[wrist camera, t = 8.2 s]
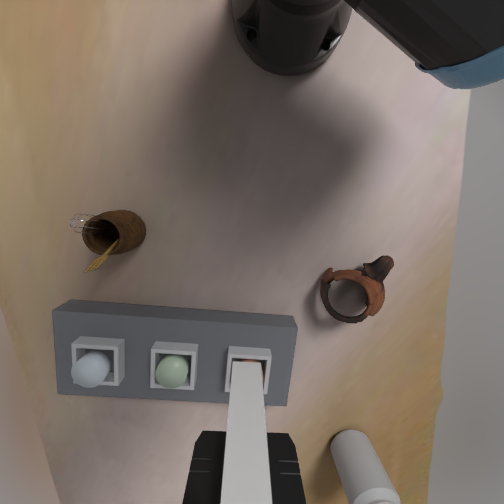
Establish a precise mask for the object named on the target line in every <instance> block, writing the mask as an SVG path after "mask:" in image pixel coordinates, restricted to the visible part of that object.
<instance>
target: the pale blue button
mask: <svg viewBox="0 0 504 504" xmlns="http://www.w3.org/2000/svg"><path fill="white" fill-rule="evenodd" d="M111 368H112V363H111V360H110V358H109V357H108V356H107V355H106V354H104V353H102V352H100V351H90V352H87V353H86V354H84V355H83V356H82V357H81V358H80V359H79V360H78V361H77V362H76V363H75V364H74V365H73V367H72V369H71V376H72V378H73V380H74V381H75V382H76V383H77V384H78V385H80V386H82V387H85V388H93V387H96V386H98V385H100V384H101V383H102V381H103V380H104V379H105V378H106V376H107V375H108V374H109V372H110V371H111Z"/></svg>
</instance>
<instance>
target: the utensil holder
mask: <svg viewBox="0 0 504 504" xmlns="http://www.w3.org/2000/svg"><path fill="white" fill-rule="evenodd" d="M75 215H76V214H75ZM75 215H74V216H75ZM82 215H87V216H88V215H89V214H82ZM82 215H81V216H82ZM93 216H94V215H93ZM79 217H80V216H79ZM79 217H78V218H79ZM90 217H91V216H90ZM78 218H77V219H75V221H76V220H78ZM70 220H71V219H70ZM75 221H74V224H75ZM82 221H84V220H82ZM72 222H73V221H72ZM77 222H79V221H77ZM72 224H73V223H72ZM76 224H77V223H76ZM76 224H75V225H76ZM70 225H71V224H70ZM79 225H80V224H79ZM81 226H83V225H81ZM71 227H73V229H74V225H73V226H71ZM76 227H77V226H76ZM77 228H83V231H81V230H80V231H81V232H82V236H83V240H84V242H85V244H86V246H87V247H88V248H89V249H90V250H91V251H93V252H94V253H97V254H99V255H102V256H100V257H98V258H97V259H95V260H94V261H93V262H92V263H91V265H90V266H89V267H88V268H87V269H86V270H85V271H84V273H86V272H87V271H92V270H93V269H94V268H95V269H97V268H98V267H99V266H100V265H101V264H102V263H103V262H104V261H105V260H106V259H107V258H108V256H107V255H113V254H121V253H124V252H127V251H129V250H131V249H134V248H136V247H137V246H139V245H140V244H141V243H142V242H143V240H144V238H145V235H146V227H145V224H144V222H143V220H142V219H141V218H140V217H139V216H138V215H137V214H135V213H133V212H131V211H126V210H117V211H108V212H104V213H101V214H100V215H97V216H94V217H92V218H91V219H89V220H88V221H87V222H86V223H85V225H84V227H77ZM74 231H75V230H74ZM75 232H76V231H75ZM77 233H80V232H77Z"/></svg>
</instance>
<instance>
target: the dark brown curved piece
mask: <svg viewBox="0 0 504 504" xmlns="http://www.w3.org/2000/svg"><path fill="white" fill-rule="evenodd" d="M363 266H364V268H363V269H364V273H365V274H366V275H367V276H368V277H366V276H362V272H361V271H357V270H338V271H335V272H332V269H333V268H331V267H330V268H329V269H328V270H327V271H326V272H325V274H324V275H323V279H322V280H321V287H320V293H321V298H322V301H323V304H324V306H325V308H326V310H327V311H328V313H329V314H330V315H331V316H333V317H334V318H335V319H337V320H339V321H342V322H346V323H357V322H362V321H363V320H364V319H366V318H367V316H369V315H370V316H374V315H375V314H376V313H377V312H378V311H379V310H380V309H381V307H382V305H383V303H384V299H385V289H384V285H383V280H384V279H385V277H386V276H387V275H388V273H389V271H390V270H391V269H392V267H393V266H394V261H393V259H392V258H391V257H390V256H381V257H379V258H378V259H377V260H375V261H374V262H372V263H364V264H363ZM343 279H347V280H352V281H355V282H357V283H359V284H360V285H361V286H362V287H363V288H364V289H365V291H366V293H367V295H368V302H366V305H367V308H366V309H365V311H364V312H363V313H362V314H360V315H358V316H353V317H348V316H344V315H341V314H339V313H338V312H336V311H335V310H334V309H333V308H332V306H331V305H330V303H329V300H328V291H329V288H330V286H331V285H330V283H331V282H332V281H333V280H335V281H339V280H343Z"/></svg>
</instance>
